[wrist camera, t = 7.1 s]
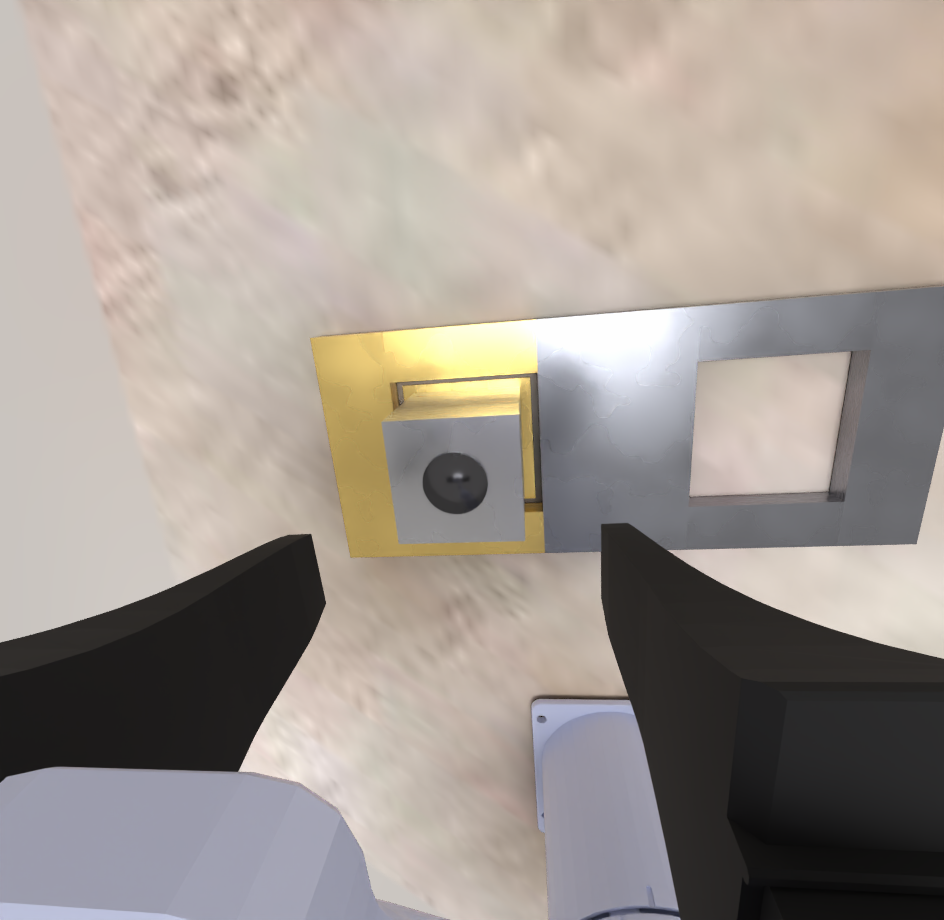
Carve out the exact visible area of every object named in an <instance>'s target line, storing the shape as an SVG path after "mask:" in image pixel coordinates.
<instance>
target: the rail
mask: <svg viewBox="0 0 944 920" xmlns="http://www.w3.org/2000/svg"><path fill="white" fill-rule="evenodd" d="M310 340H311V345H312V351H313V356H314V361H315V367H316V372H317V378H318V383H319V389H320V394H321V399H322V405H323V410H324V416H325V421H326V427H327V432H328V437H329V443H330V448H331V454H332V459H333V465H334V470H335V475H336V481H337V486H338V492H339V497H340V503H341V508H342V513H343V519H344V524H345V530H346V535H347V541H348V546H349V551H350V557H351V558H352V557H394V556H436V555H478V554H520V553H562V552H601V524H610V523H629V524H630V525H632V526H634V527H635V528H636V529H638V530H639V531H641V532H642V533H643V534H645V535H646V536H648V537H649V538H650V539H652V540H653V541H655V542H656V543H657V544H659V545H660V546H662V547H663V548H664V549H666V550H687V549H729V548H771V547H813V546H855V545H897V544H917V539H918V535H919V531H920V527H921V522H922V518H923V514H924V510H925V505H926V501H927V497H928V492H929V488H930V484H931V480H932V475H933V471H934V467H935V462H936V458H937V454H938V450H939V445H940V441H941V437H942V433H943V428H944V285H939V286H927V287H915V288H903V289H890V290H878V291H866V292H854V293H842V294H830V295H817V296H805V297H793V298H781V299H769V300H757V301H744V302H732V303H720V304H708V305H696V306H684V307H671V308H659V309H647V310H635V311H623V312H611V313H598V314H586V315H574V316H562V317H550V318H538V319H525V320H513V321H501V322H489V323H477V324H465V325H452V326H440V327H428V328H416V329H404V330H392V331H379V332H367V333H355V334H343V335H331V336H319V337H314V338H310ZM845 351H852V357H851V363H850V369H849V375H848V381H847V388H846V394H845V400H844V406H843V412H842V418H841V424H840V430H839V437H838V443H837V449H836V455H835V461H834V467H833V473H832V479H831V485H830V492H820V493H792V494H765V495H737V496H710V497H689V491H690V475H691V460H692V444H693V429H694V413H695V398H696V382H697V367H698V362H700V361H714V360H729V359H743V358H758V357H773V356H787V355H802V354H816V353H831V352H845ZM525 373H537V382H538V407H539V432H540V457H541V482H542V503H525V541H507V542H465V543H423V544H399V542H398V535H397V528H396V521H395V514H394V507H393V500H392V493H391V486H390V479H389V472H388V465H387V458H386V451H385V444H384V437H383V430H382V423H381V422H382V421H383V420H384V419H385V418H386V417H387V416H388V415H390V414H391V413H392V412H393V411H394V410H395V409H396V408H398V407H399V401H398V393H397V386H396V382H409V381H423V380H438V379H453V378H467V377H482V376H496V375H511V374H525ZM402 387H403V394H404V401H405V400H407V399H408V398H409V397H410V396H411V395H412V394H413V393H424V392H441V391H457V390H473V389H489V388H505V387H520V404H521V425H522V446H523V467H524V488H525V498H535V477H534V454H533V432H532V410H531V388H530V377H520V378H505V379H491V380H476V381H461V382H447V383H432V384H417V385H403V386H402Z"/></svg>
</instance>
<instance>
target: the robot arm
mask: <svg viewBox="0 0 944 920" xmlns="http://www.w3.org/2000/svg"><path fill="white" fill-rule="evenodd" d="M601 599H602V604H603V610H604V615H605V621H606V626H607V631H608V635H609V639H610V642H611V645H612V648H613V651H614V654H615V657H616V660H617V663H618V666H619V669H620V672H621V675H622V678H623V681H624V684H625V687H626V690H627V693H628V696H629V699H630V700H582V699H537V700H535V701H534V702H533V703H532V706H531V712H532V729H533V747H534V765H535V783H536V800H537V818H538V828H539V830H540V831H541V832H543V833H545V848H546V871H547V895H548V918H549V920H944V659H942V658H937V657H933V656H929V655H925V654H921V653H916V652H912V651H908V650H904V649H900V648H895V647H891V646H887V645H883V644H880V643H876V642H873V641H869V640H866V639H863V638H859V637H856V636H853V635H849V634H846V633H843V632H839V631H836V630H833V629H830V628H827V627H824V626H821V625H818V624H815V623H812V622H809V621H806V620H804V619H801V618H799V617H796V616H793V615H791V614H788V613H786V612H783V611H780V610H778V609H775V608H773V607H770V606H768V605H766V604H763V603H761V602H759V601H756V600H754V599H752V598H750V597H748V596H746V595H744V594H742V593H740V592H738V591H735V590H733V589H731V588H729V587H727V586H725V585H723V584H721V583H720V582H718V581H716V580H714V579H712V578H711V577H709V576H707V575H705V574H704V573H702V572H700V571H699V570H697V569H695V568H693V567H692V566H690V565H689V564H687V563H685V562H684V561H682V560H681V559H679V558H678V557H676V556H675V555H673V554H672V553H670V552H669V551H667V550H666V549H664V548H663V547H662V546H660V545H659V544H657V543H656V542H655V541H653V540H652V539H650V538H649V537H648V536H646V535H645V534H643V533H642V532H641V531H639V530H638V529H636V528H635V527H634V526H632V525H630V524H629V523H610V524H601ZM325 604H326V601H325V596H324V591H323V587H322V582H321V577H320V573H319V568H318V563H317V559H316V554H315V550H314V545H313V540H312V536H311V534H300V535H287V536H284V537H280V538H278V539H275V540H273V541H270V542H268V543H266V544H264V545H261V546H259V547H257V548H255V549H253V550H251V551H249V552H247V553H244V554H242V555H240V556H238V557H236V558H234V559H232V560H230V561H228V562H226V563H224V564H222V565H220V566H218V567H215V568H213V569H211V570H209V571H207V572H205V573H202V574H200V575H198V576H196V577H194V578H191V579H189V580H187V581H185V582H183V583H180V584H178V585H176V586H174V587H172V588H169V589H167V590H165V591H162V592H160V593H157V594H155V595H152V596H150V597H147V598H145V599H142V600H139V601H137V602H134V603H131V604H129V605H126V606H123V607H121V608H118V609H115V610H112V611H109V612H106V613H103V614H100V615H96V616H93V617H90V618H87V619H84V620H80V621H77V622H74V623H71V624H68V625H65V626H61V627H58V628H55V629H51V630H48V631H44V632H40V633H36V634H33V635H29V636H25V637H21V638H17V639H13V640H9V641H5V642H1V643H0V920H448V919H445V918H441V917H438V916H435V915H431V914H428V913H424V912H421V911H418V910H414V909H411V908H407V907H404V906H401V905H397V904H394V903H391V902H387V901H383V900H379V899H375V896H374V894H373V892H372V889H371V885H370V880H369V876H368V872H367V867H366V863H365V858H364V854H363V851H362V849H361V847H360V846H359V844H358V842H357V840H356V839H355V837H354V835H353V834H352V832H351V830H350V828H349V827H348V825H347V823H346V822H345V820H344V818H343V817H342V815H341V813H340V812H339V810H338V808H336V807H335V806H333V805H332V804H330V803H329V802H327V801H326V800H324V799H323V798H321V797H320V796H318V795H317V794H315V793H314V792H312V791H311V790H309V789H308V788H306V787H305V786H303V785H302V784H300V783H298V782H294V781H289V780H285V779H280V778H276V777H272V776H267V775H263V774H258V773H254V772H238V771H239V769H240V767H241V764H242V762H243V760H244V758H245V756H246V754H247V752H248V750H249V747H250V745H251V743H252V741H253V739H254V737H255V735H256V733H257V731H258V729H259V727H260V726H261V724H262V722H263V720H264V718H265V716H266V715H267V713H268V711H269V710H270V708H271V706H272V705H273V703H274V701H275V700H276V698H277V696H278V695H279V693H280V691H281V690H282V688H283V686H284V685H285V683H286V681H287V680H288V678H289V676H290V675H291V673H292V671H293V670H294V668H295V666H296V665H297V663H298V661H299V659H300V658H301V656H302V654H303V653H304V651H305V649H306V647H307V646H308V644H309V642H310V640H311V639H312V636H313V634H314V632H315V630H316V627H317V625H318V623H319V620H320V617H321V615H322V612H323V610H324V607H325ZM541 715H542V716H544V717H539V716H541Z"/></svg>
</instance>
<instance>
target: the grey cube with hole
mask: <svg viewBox="0 0 944 920" xmlns="http://www.w3.org/2000/svg"><path fill="white" fill-rule="evenodd" d="M381 423H382V430H383V437H384V444H385V451H386V458H387V465H388V472H389V479H390V486H391V493H392V500H393V507H394V514H395V521H396V528H397V535H398V542H399V544H423V543H465V542H507V541H525V488H524V467H523V446H522V425H521V404H520V387H505V388H489V389H473V390H457V391H441V392H424V393H413V394H412V395H411V396H410V397H409V398H408V399H407V400H405V401H404V402H403V403H402V404H401V405H400V406H399V407H398V408H396V409H395V410H394V411H393V412H392V413H391V414H390V415H388V416H387V417H386V418H385V419H384V420H383V421H382V422H381Z"/></svg>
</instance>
